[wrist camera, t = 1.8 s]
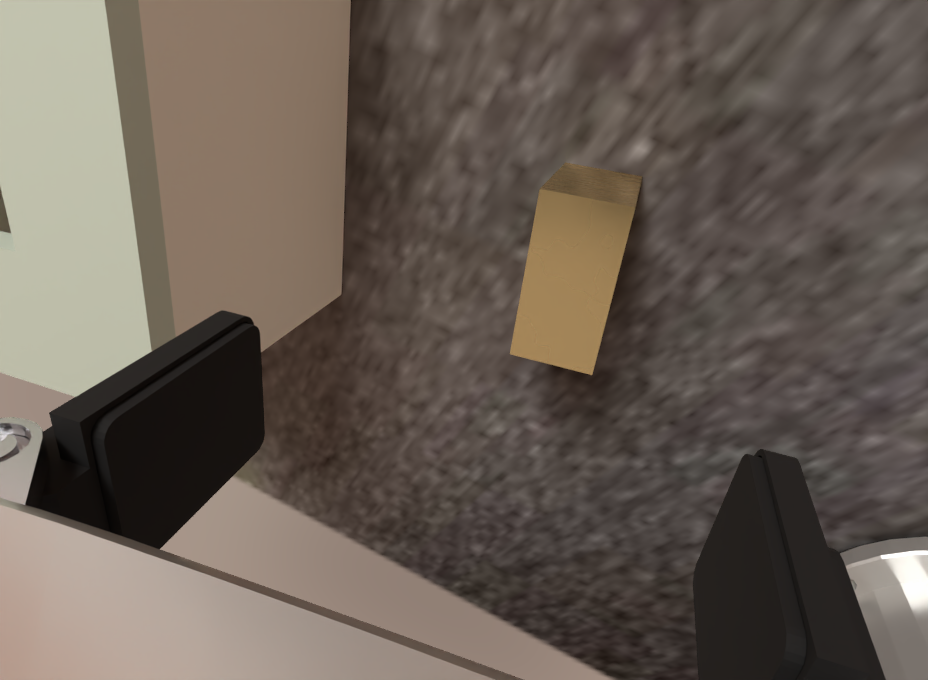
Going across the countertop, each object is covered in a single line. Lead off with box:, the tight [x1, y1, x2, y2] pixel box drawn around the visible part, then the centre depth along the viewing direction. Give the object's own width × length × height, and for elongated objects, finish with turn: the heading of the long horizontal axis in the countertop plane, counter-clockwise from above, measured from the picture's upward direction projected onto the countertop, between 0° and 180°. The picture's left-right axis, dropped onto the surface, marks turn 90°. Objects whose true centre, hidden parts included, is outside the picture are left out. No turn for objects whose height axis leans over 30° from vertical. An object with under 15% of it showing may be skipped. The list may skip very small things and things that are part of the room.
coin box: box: [0, 0, 351, 397], centre depth 21 cm, size 18×14×12 cm
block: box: [510, 163, 642, 375], centre depth 22 cm, size 6×3×6 cm, turn 172°
